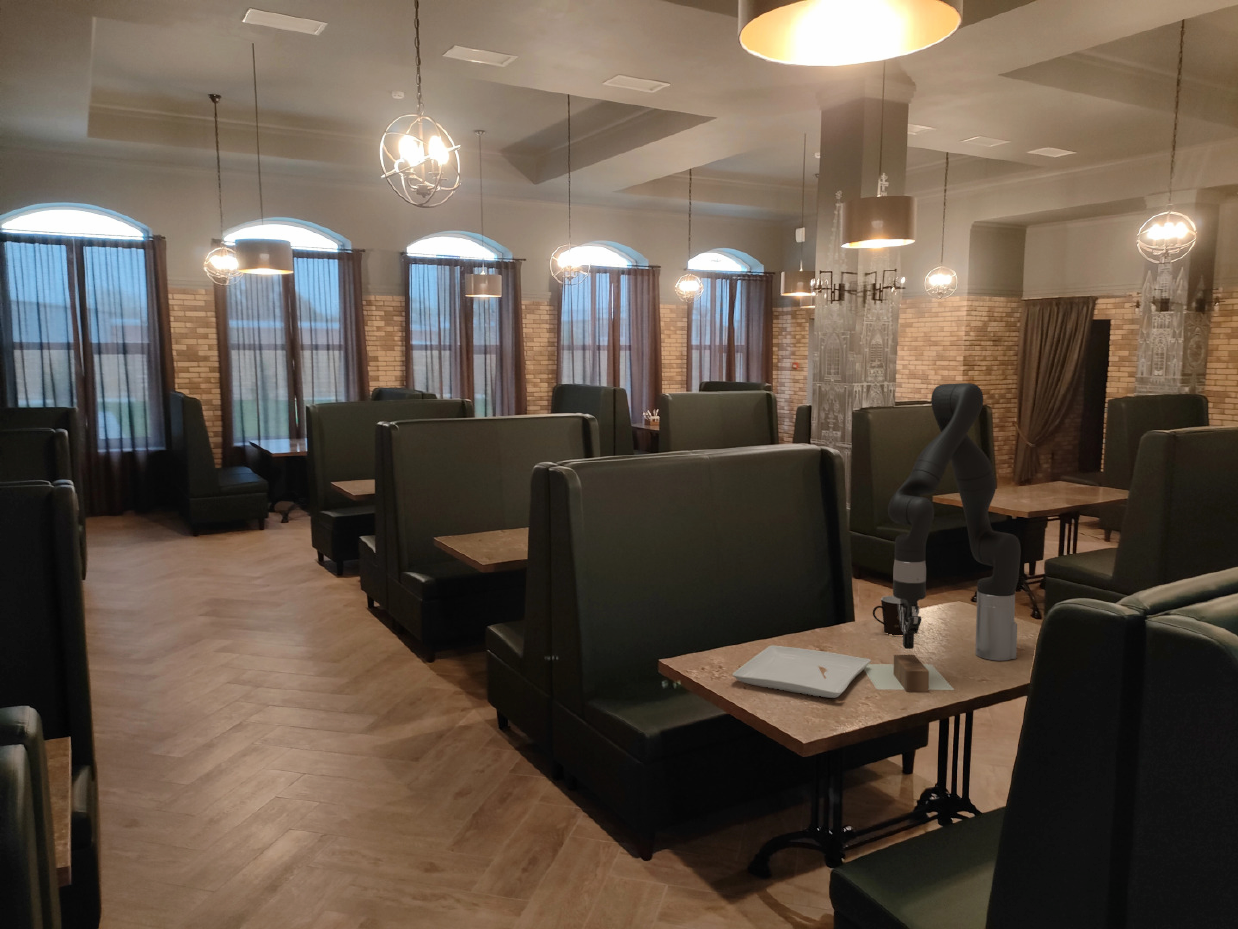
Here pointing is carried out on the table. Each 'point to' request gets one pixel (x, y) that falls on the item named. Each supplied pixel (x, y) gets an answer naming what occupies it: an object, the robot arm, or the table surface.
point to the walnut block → (911, 673)
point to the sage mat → (887, 681)
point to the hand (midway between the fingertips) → (908, 647)
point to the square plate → (801, 670)
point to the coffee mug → (890, 615)
